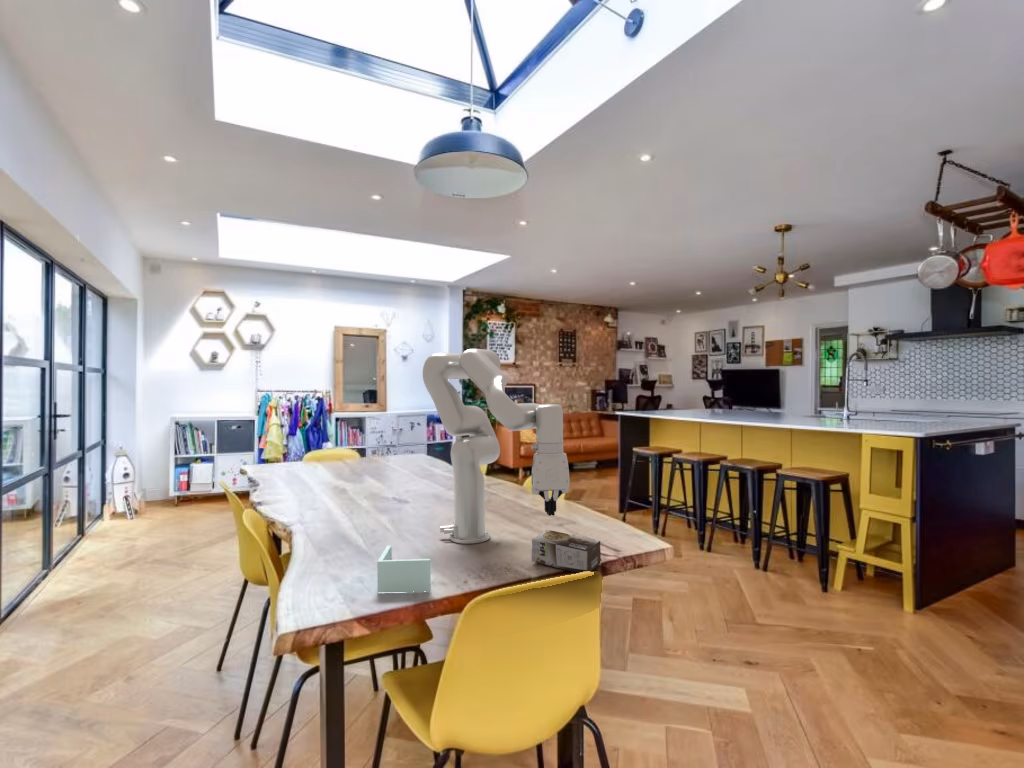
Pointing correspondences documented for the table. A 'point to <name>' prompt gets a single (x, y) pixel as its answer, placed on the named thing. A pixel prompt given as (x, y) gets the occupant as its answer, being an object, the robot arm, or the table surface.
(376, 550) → the table surface
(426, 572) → the right angle wall
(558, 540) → the coffee box
